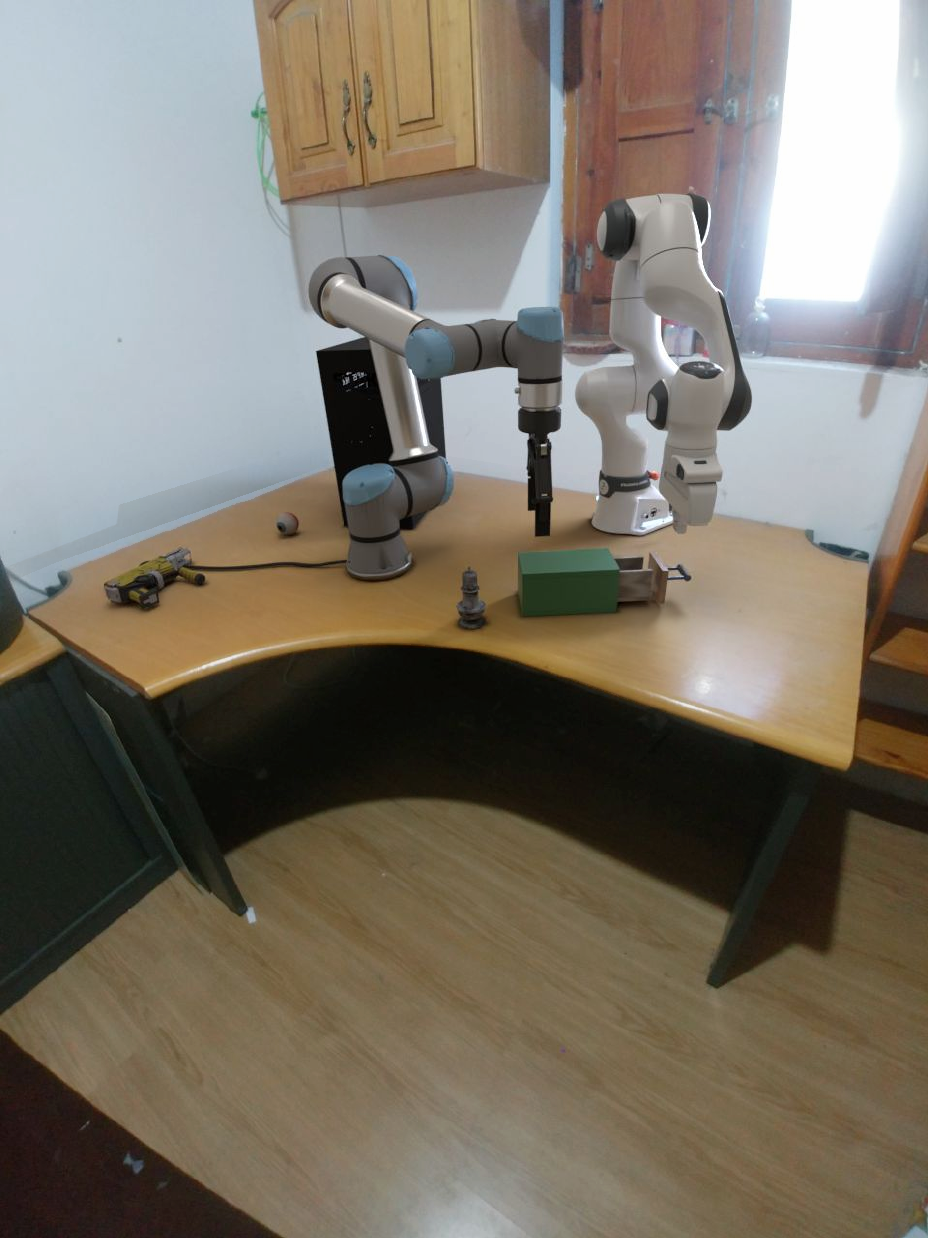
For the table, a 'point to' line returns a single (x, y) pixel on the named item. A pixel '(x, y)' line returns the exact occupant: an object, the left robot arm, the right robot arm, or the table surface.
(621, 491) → the right robot arm
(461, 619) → the grey chess piece
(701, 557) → the table surface
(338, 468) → the cardboard box
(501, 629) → the table surface
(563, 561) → the cabinet
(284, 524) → the eyeball
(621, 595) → the drawer
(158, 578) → the toy gun
